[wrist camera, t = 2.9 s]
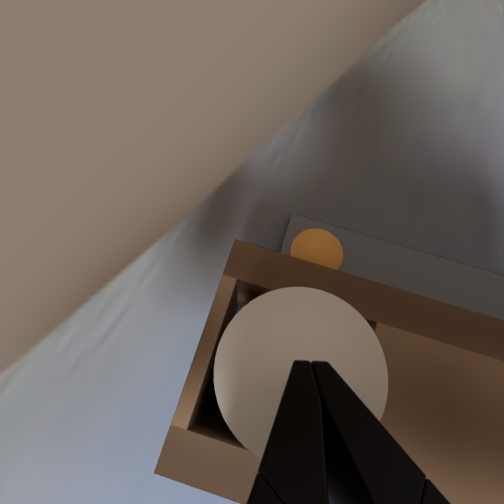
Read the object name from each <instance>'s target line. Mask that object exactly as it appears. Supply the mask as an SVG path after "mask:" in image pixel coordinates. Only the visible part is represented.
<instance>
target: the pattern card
mask: <svg viewBox="0 0 504 504" xmlns="http://www.w3.org/2000/svg"><path fill="white" fill-rule="evenodd" d="M280 253H283V254H286V255H289V256H293V257H296V258H299V259H302V260H306V261H309V262H312V263H316V264H319V265H322V266H326V267H329V268H332V269H336V270H339V271H342V272H345V273H349V274H352V275H355V276H359V277H362V278H365V279H369V280H372V281H375V282H379V283H382V284H385V285H388V286H392V287H395V288H398V289H402V290H405V291H408V292H412V293H415V294H418V295H421V296H425V297H428V298H431V299H435V300H438V301H441V302H445V303H448V304H451V305H455V306H458V307H461V308H464V309H468V310H471V311H474V312H478V313H481V314H484V315H488V316H491V317H494V318H498V319H501V320H504V276H503V275H500V274H496V273H493V272H489V271H486V270H483V269H479V268H476V267H472V266H469V265H466V264H462V263H459V262H455V261H452V260H449V259H445V258H442V257H438V256H435V255H432V254H428V253H425V252H421V251H418V250H415V249H411V248H408V247H405V246H401V245H398V244H394V243H391V242H388V241H384V240H381V239H377V238H374V237H371V236H367V235H364V234H360V233H357V232H354V231H350V230H347V229H343V228H340V227H337V226H333V225H330V224H326V223H323V222H320V221H316V220H313V219H309V218H306V217H303V216H299V215H296V214H293V213H292V215H291V218H290V221H289V224H288V228H287V231H286V234H285V238H284V241H283V244H282V248H281V251H280Z"/></svg>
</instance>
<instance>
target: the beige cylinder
mask: <svg viewBox="0 0 504 504" xmlns="http://www.w3.org/2000/svg"><path fill="white" fill-rule="evenodd" d="M294 360H308V361H310V362H312V361H327V362H329V363H330V364H331V366H332V367H333V368H334V369H335V370H336V371H337V373H338V374H339V375H340V376H341V377H342V378H343V380H344V381H345V382H346V383H347V384H348V385H349V387H350V388H351V389H352V390H353V391H354V392H355V393H356V395H357V396H358V397H359V398H360V399H361V400H362V402H363V403H364V404H365V405H366V406H367V407H368V409H369V410H370V411H371V412H372V413H373V414H374V416H375V417H376V418H377V419H378V420H379V421H380V420H381V417H382V415H383V412H384V409H385V405H386V401H387V393H388V372H387V364H386V360H385V356H384V353H383V350H382V347H381V345H380V342H379V340H378V338H377V336H376V335H375V333H374V331H373V329H372V328H371V327H370V325H369V324H368V322H367V321H366V320H365V319H364V318H363V316H362V315H361V314H360V313H359V312H358V311H357V310H355V309H354V308H353V307H352V306H351V305H349V304H348V303H347V302H345V301H344V300H342V299H340V298H338V297H337V296H335V295H333V294H330V293H328V292H325V291H322V290H318V289H314V288H308V287H287V288H280V289H277V290H273V291H270V292H267V293H265V294H263V295H260V296H259V297H257V298H255V299H254V300H252V301H250V302H249V303H248V304H247V305H245V306H244V307H243V308H242V309H241V310H240V311H239V312H238V313H237V314H236V315H235V316H234V318H233V319H232V320H231V322H230V323H229V324H228V326H227V328H226V330H225V331H224V333H223V335H222V338H221V340H220V343H219V345H218V349H217V352H216V356H215V364H214V387H215V394H216V398H217V402H218V406H219V408H220V411H221V413H222V416H223V418H224V420H225V422H226V423H227V425H228V427H229V429H230V430H231V431H232V433H233V434H234V436H235V437H236V438H237V439H238V440H239V441H240V442H241V443H242V445H243V446H244V447H245V448H247V449H248V450H249V451H250V452H252V453H253V454H254V455H255V456H257V457H259V458H260V459H262V456H263V453H264V449H265V446H266V443H267V440H268V437H269V434H270V431H271V428H272V425H273V422H274V419H275V416H276V413H277V410H278V407H279V403H280V400H281V397H282V394H283V391H284V388H285V385H286V382H287V379H288V376H289V373H290V370H291V367H292V364H293V361H294Z"/></svg>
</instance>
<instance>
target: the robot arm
mask: <svg viewBox="0 0 504 504" xmlns="http://www.w3.org/2000/svg"><path fill="white" fill-rule="evenodd" d="M246 504H451V503H450V502H449V501H448V500H447V499H446V498H445V497H444V495H443V494H442V493H441V492H440V491H439V490H438V489H437V487H436V486H435V485H434V484H433V483H432V482H431V480H430V479H426V475H425V474H424V472H423V471H422V470H421V469H420V468H419V467H418V466H417V464H416V463H415V462H414V461H413V460H412V459H411V457H410V456H409V455H408V454H407V453H406V452H405V450H404V449H403V448H402V447H401V446H400V445H399V443H398V442H397V441H396V440H395V439H394V438H393V436H392V435H391V434H390V433H389V432H388V431H387V430H386V428H385V427H384V426H383V425H382V424H381V423H380V421H379V420H378V419H377V418H376V417H375V416H374V414H373V413H372V412H371V411H370V410H369V409H368V407H367V406H366V405H365V404H364V403H363V402H362V400H361V399H360V398H359V397H358V396H357V395H356V393H355V392H354V391H353V390H352V389H351V388H350V387H349V385H348V384H347V383H346V382H345V381H344V380H343V378H342V377H341V376H340V375H339V374H338V373H337V371H336V370H335V369H334V368H333V367H332V366H331V364H330V363H329V362H327V361H312V362H310V361H308V360H294V361H293V364H292V367H291V370H290V373H289V376H288V379H287V382H286V385H285V388H284V391H283V394H282V397H281V400H280V403H279V407H278V410H277V413H276V416H275V419H274V422H273V425H272V428H271V431H270V434H269V437H268V440H267V443H266V446H265V449H264V453H263V456H262V459H261V462H260V465H259V468H258V471H257V474H256V476H255V479H254V483H253V486H252V489H251V492H250V494H249V497H248V500H247V503H246Z"/></svg>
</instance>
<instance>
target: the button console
mask: <svg viewBox="0 0 504 504" xmlns="http://www.w3.org/2000/svg"><path fill="white" fill-rule="evenodd" d="M287 287H308V288H314V289H318V290H322V291H325V292H328V293H330V294H333V295H335V296H337V297H338V298H340V299H342V300H344V301H345V302H347V303H348V304H349V305H351V306H352V307H353V308H354V309H355V310H357V311H358V312H359V313H360V314H361V315H362V316H363V318H364V319H365V320H366V321H367V322H368V324H369V325H370V327H371V328H372V329H373V331H374V333H375V335H376V336H377V338H378V340H379V342H380V345H381V347H382V350H383V353H384V356H385V360H386V364H387V372H388V393H387V401H386V405H385V409H384V412H383V415H382V417H381V420H380V423H381V424H382V425H383V426H384V427H385V428H386V430H387V431H388V432H389V433H390V434H391V435H392V436H393V438H394V439H395V440H396V441H397V442H398V443H399V445H400V446H401V447H402V448H403V449H404V450H405V452H406V453H407V454H408V455H409V456H410V457H411V459H412V460H413V461H414V462H415V463H416V464H417V466H418V467H419V468H420V469H421V470H422V471H423V472H424V474H425V475H426V479H430V480H431V482H432V483H433V484H434V485H435V486H436V487H437V489H438V490H439V491H440V492H441V493H442V494H443V495H444V497H445V498H446V499H447V500H448V501H449V502H450V503H451V504H504V320H501V319H498V318H494V317H491V316H488V315H484V314H481V313H478V312H474V311H471V310H468V309H464V308H461V307H458V306H455V305H451V304H448V303H445V302H441V301H438V300H435V299H431V298H428V297H425V296H421V295H418V294H415V293H412V292H408V291H405V290H402V289H398V288H395V287H392V286H388V285H385V284H382V283H379V282H375V281H372V280H369V279H365V278H362V277H359V276H355V275H352V274H349V273H345V272H342V271H339V270H336V269H332V268H329V267H326V266H322V265H319V264H316V263H312V262H309V261H306V260H302V259H299V258H296V257H293V256H289V255H286V254H283V253H279V252H276V251H273V250H269V249H266V248H263V247H259V246H256V245H253V244H250V243H246V242H243V241H240V240H236V239H235V241H234V243H233V246H232V249H231V252H230V255H229V258H228V261H227V264H226V266H225V269H224V272H223V275H222V278H221V281H220V284H219V287H218V290H217V292H216V295H215V298H214V301H213V304H212V307H211V310H210V313H209V315H208V318H207V321H206V324H205V327H204V330H203V333H202V336H201V338H200V341H199V344H198V347H197V350H196V353H195V356H194V359H193V362H192V364H191V367H190V370H189V373H188V376H187V379H186V382H185V385H184V387H183V390H182V393H181V396H180V399H179V402H178V405H177V408H176V411H175V413H174V416H173V419H172V422H171V425H170V428H169V431H168V434H167V436H166V439H165V442H164V445H163V448H162V451H161V454H160V457H159V459H158V462H157V465H156V468H155V471H154V473H155V474H158V475H161V476H164V477H166V478H169V479H172V480H175V481H178V482H181V483H184V484H186V485H189V486H192V487H195V488H198V489H201V490H204V491H206V492H209V493H212V494H215V495H218V496H221V497H223V498H226V499H229V500H232V501H235V502H238V503H241V504H246V503H247V500H248V497H249V494H250V492H251V489H252V486H253V483H254V479H255V476H256V474H257V471H258V468H259V465H260V462H261V459H260V458H259V457H257V456H255V455H254V454H253V453H252V452H250V451H249V450H248V449H247V448H245V447H244V446H243V445H242V443H241V442H240V441H239V440H238V439H237V438H236V437H235V436H234V434H233V433H232V431H231V430H230V429H229V427H228V425H227V423H226V422H225V421H222V420H219V419H216V418H213V417H210V416H207V415H204V414H203V411H204V408H205V405H206V402H207V398H208V395H209V392H210V389H211V386H212V383H213V380H214V364H215V356H216V352H217V349H218V345H219V343H220V340H221V338H222V335H223V333H224V331H225V330H226V328H227V326H228V324H229V323H230V322H231V320H232V319H233V318H234V315H235V312H236V309H237V306H240V307H244V306H245V305H247V304H248V303H249V302H250V301H252V300H254V299H255V298H257V297H259V296H260V295H263V294H265V293H267V292H270V291H273V290H277V289H280V288H287Z"/></svg>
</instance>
